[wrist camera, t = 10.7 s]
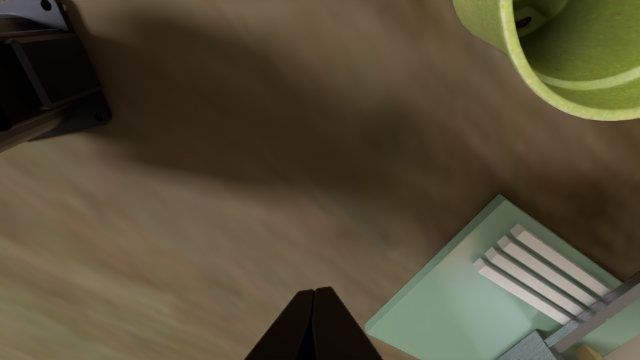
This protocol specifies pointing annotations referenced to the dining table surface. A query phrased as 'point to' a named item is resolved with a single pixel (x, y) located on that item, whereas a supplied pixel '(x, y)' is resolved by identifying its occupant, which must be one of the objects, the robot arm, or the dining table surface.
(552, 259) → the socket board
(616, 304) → the orange-rimmed grey tower
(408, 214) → the dining table surface
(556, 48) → the plant pot
